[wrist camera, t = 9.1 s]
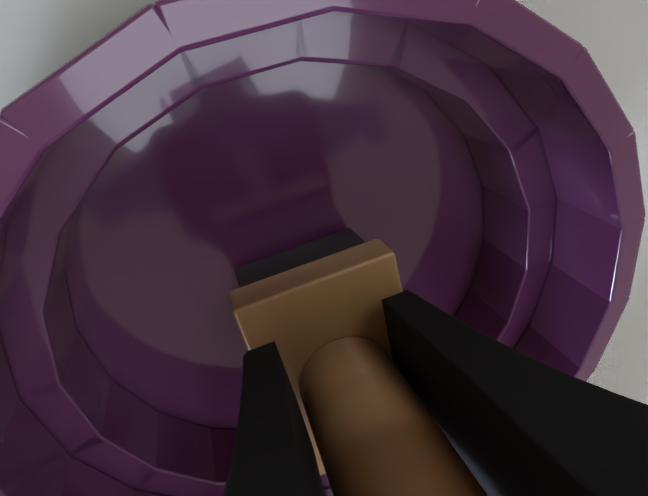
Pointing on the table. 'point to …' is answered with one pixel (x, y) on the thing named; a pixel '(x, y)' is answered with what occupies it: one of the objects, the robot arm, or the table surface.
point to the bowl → (288, 211)
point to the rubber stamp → (348, 367)
